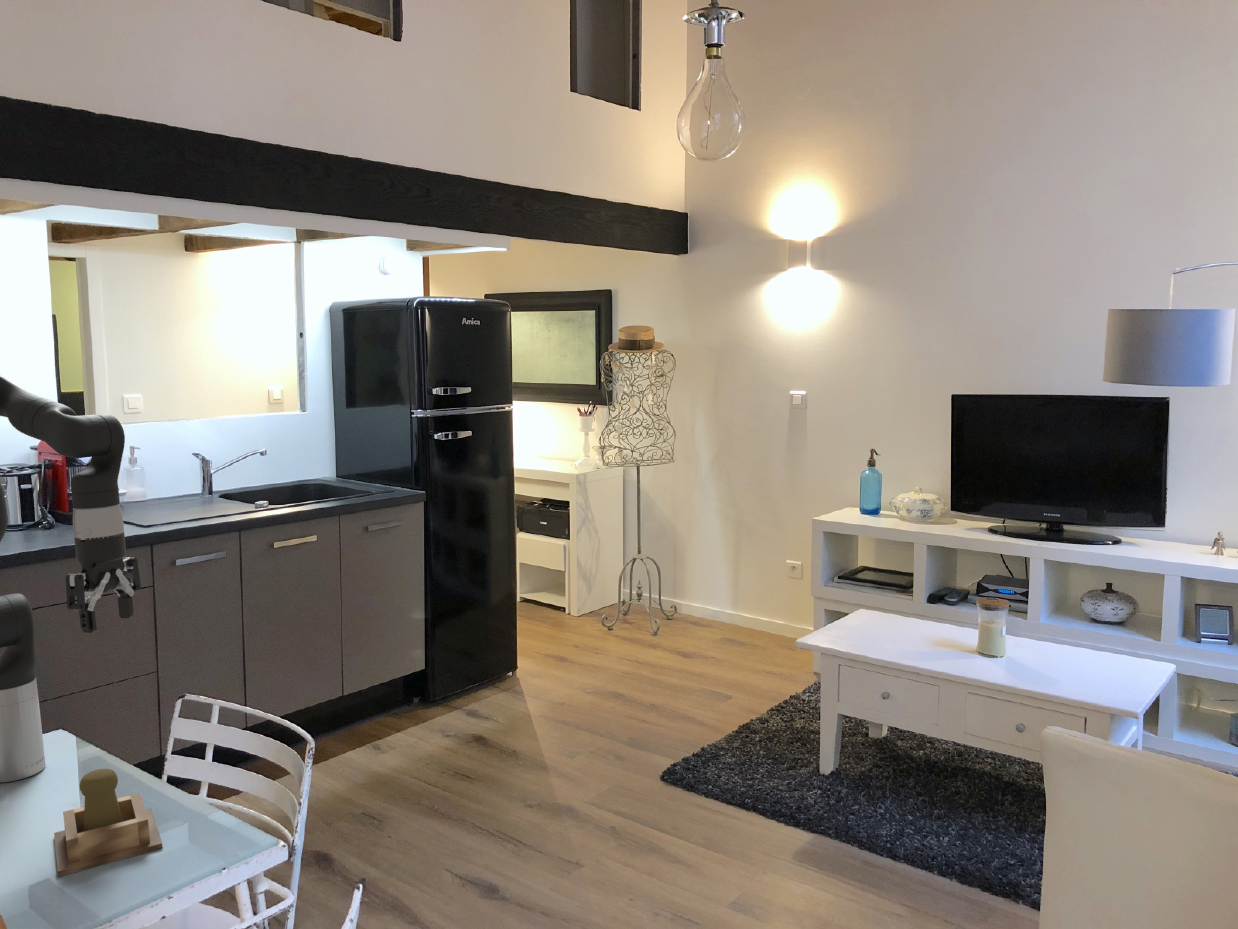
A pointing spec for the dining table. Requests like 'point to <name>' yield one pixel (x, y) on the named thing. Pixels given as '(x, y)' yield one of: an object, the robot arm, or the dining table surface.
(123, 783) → the dining table surface
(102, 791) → the cork
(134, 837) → the shaker caddy
